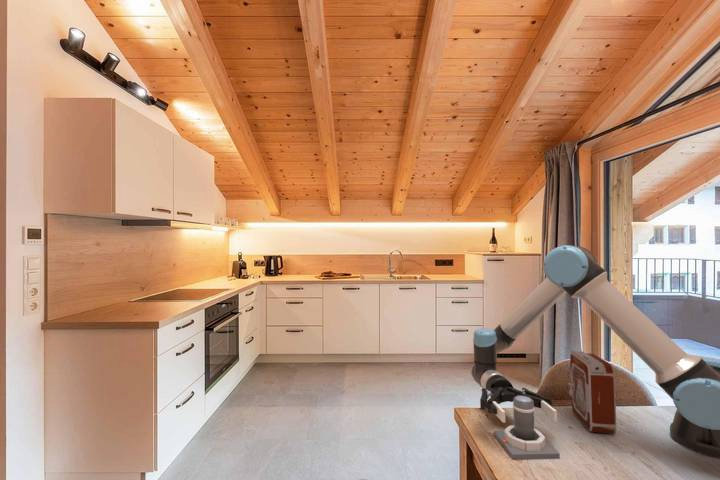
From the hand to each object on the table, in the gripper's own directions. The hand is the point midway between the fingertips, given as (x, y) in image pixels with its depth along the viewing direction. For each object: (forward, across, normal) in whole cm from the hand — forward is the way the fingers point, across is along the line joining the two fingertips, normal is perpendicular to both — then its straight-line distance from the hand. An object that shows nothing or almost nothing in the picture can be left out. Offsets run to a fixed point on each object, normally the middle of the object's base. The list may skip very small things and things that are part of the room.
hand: (529, 416), depth 92 cm
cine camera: (-17, -27, -9) cm, 33 cm away
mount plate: (-3, 0, -9) cm, 10 cm away
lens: (-3, 0, -8) cm, 9 cm away
